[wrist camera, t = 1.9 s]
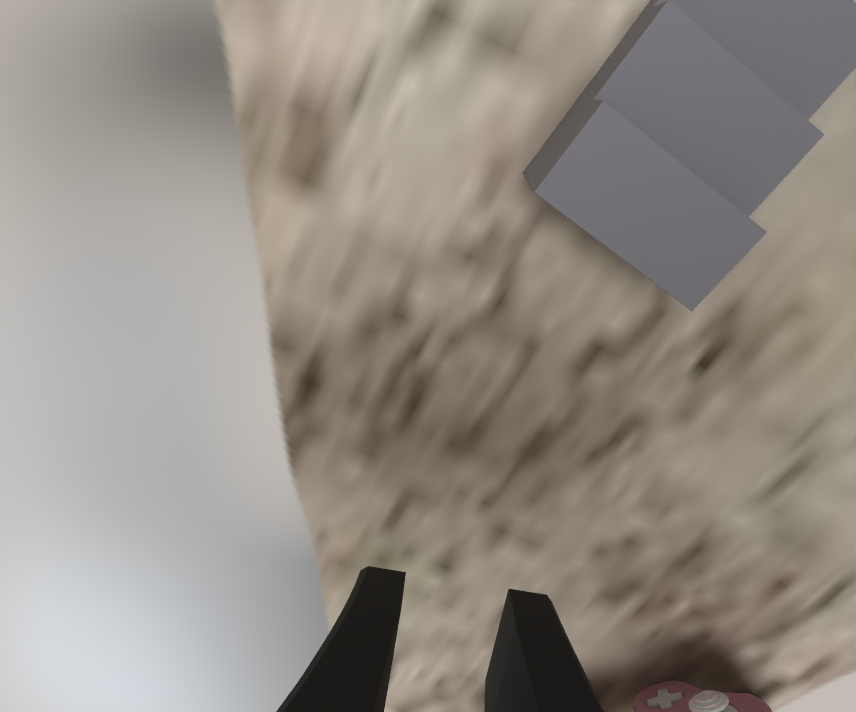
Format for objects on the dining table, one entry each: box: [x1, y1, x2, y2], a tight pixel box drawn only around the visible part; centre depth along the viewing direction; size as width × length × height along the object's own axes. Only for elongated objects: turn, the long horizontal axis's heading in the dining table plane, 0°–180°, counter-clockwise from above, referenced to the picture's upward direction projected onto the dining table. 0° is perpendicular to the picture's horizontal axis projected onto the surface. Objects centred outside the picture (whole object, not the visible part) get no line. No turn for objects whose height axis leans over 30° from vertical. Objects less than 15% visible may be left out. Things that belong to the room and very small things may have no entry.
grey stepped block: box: [523, 0, 856, 311], centre depth 14 cm, size 4×7×4 cm, turn 145°
